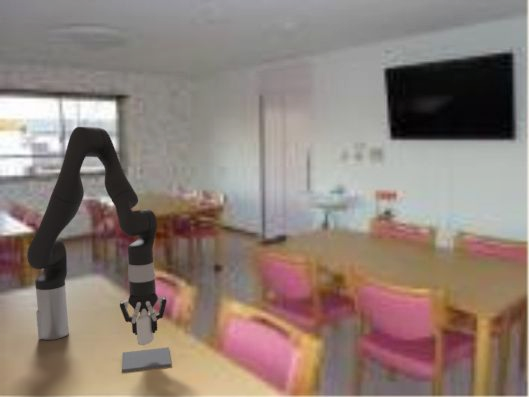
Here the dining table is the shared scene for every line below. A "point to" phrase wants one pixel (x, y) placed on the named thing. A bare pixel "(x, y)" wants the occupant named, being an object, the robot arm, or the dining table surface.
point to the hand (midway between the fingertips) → (145, 332)
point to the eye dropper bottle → (144, 328)
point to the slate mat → (146, 359)
